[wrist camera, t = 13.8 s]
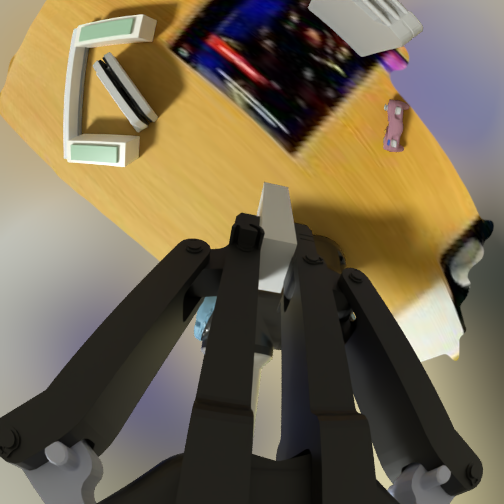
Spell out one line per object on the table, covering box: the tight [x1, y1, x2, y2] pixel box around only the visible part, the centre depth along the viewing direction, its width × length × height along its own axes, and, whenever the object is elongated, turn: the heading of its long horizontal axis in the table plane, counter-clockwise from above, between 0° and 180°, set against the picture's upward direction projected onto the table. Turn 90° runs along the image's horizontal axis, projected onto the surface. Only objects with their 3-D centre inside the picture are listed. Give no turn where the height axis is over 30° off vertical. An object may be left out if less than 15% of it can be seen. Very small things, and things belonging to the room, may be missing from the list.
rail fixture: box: [63, 14, 157, 167], centre depth 36 cm, size 28×17×7 cm, turn 169°
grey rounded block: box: [93, 52, 158, 133], centre depth 36 cm, size 17×5×10 cm, turn 31°
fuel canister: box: [308, 0, 423, 57], centre depth 20 cm, size 15×5×25 cm, turn 48°
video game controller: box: [383, 99, 409, 152], centre depth 38 cm, size 10×5×7 cm, turn 179°
